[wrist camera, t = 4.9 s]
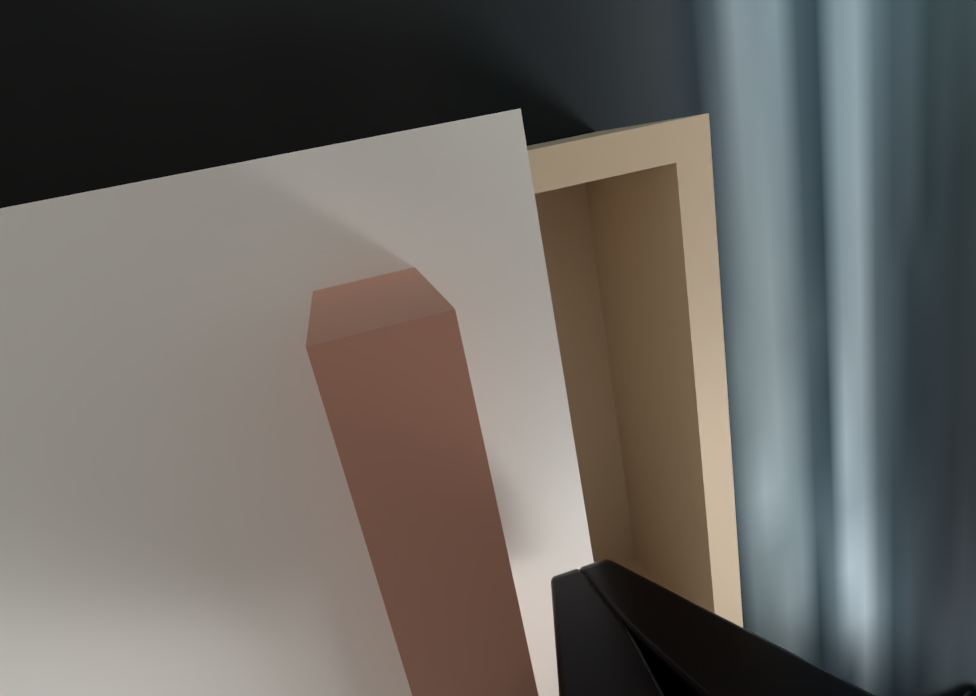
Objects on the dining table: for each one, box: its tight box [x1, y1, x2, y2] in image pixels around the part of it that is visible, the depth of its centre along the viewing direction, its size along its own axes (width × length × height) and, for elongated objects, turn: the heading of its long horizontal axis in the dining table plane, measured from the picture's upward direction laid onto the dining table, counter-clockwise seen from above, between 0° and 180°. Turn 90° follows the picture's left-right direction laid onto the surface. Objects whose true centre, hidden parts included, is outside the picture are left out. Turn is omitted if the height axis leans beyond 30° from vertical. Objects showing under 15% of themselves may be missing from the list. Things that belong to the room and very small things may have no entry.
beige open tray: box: [527, 113, 743, 628], centre depth 11 cm, size 16×11×4 cm
